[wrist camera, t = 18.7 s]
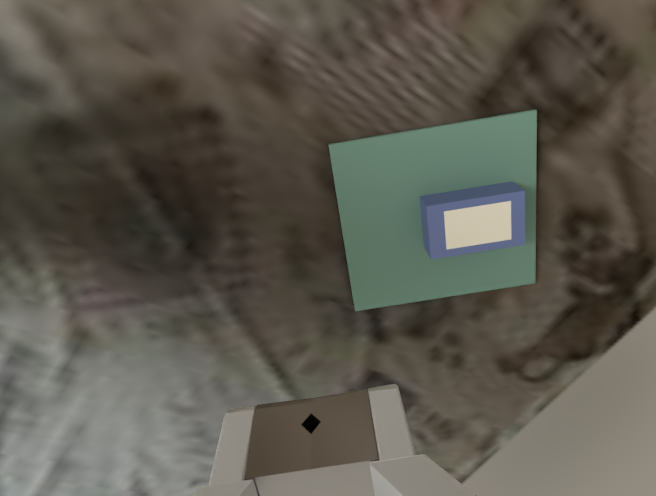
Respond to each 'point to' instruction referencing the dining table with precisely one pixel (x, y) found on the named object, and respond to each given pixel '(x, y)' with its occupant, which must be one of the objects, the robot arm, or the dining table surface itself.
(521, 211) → the block
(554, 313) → the dining table surface
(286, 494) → the robot arm
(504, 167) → the mat
